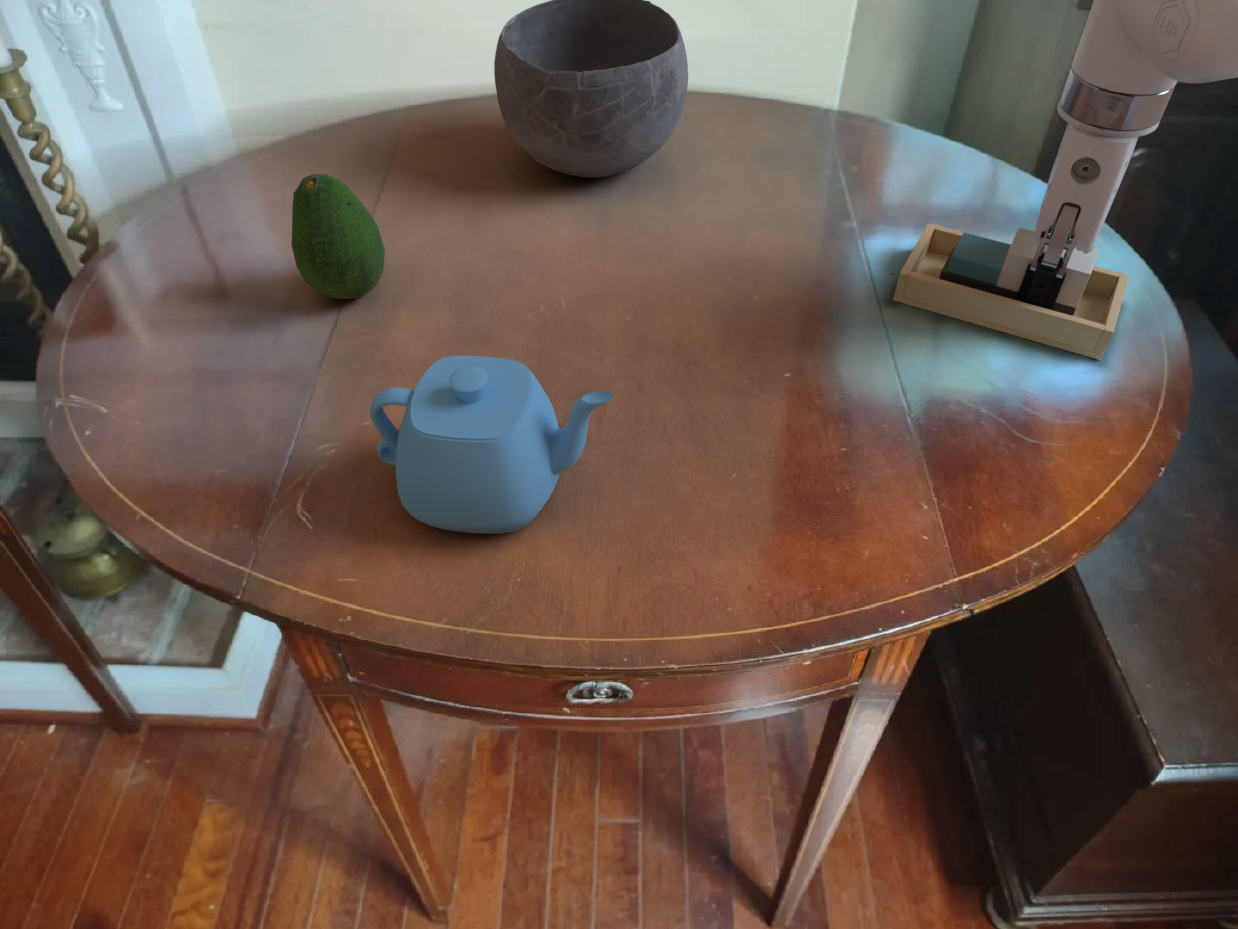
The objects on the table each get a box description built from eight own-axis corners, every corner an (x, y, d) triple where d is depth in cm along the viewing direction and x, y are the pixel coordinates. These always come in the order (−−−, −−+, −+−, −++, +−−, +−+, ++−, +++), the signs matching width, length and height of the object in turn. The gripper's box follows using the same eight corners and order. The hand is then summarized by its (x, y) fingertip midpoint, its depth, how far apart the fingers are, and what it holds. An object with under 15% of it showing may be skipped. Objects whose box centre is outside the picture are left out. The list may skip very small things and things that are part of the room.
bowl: (505, 120, 114) (493, -11, 103) (674, 116, 114) (680, -15, 104) (500, 211, 100) (485, 70, 89) (693, 205, 100) (702, 64, 89)
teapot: (602, 453, 60) (326, 431, 61) (604, 559, 67) (359, 536, 69) (624, 330, 68) (382, 313, 70) (624, 436, 76) (406, 419, 77)
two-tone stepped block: (1080, 292, 87) (1099, 247, 83) (1071, 319, 84) (1091, 274, 81) (950, 257, 91) (963, 212, 87) (937, 281, 88) (951, 237, 84)
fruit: (316, 270, 92) (284, 155, 84) (397, 268, 92) (374, 154, 84) (299, 319, 87) (263, 202, 78) (385, 318, 87) (359, 201, 78)
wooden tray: (1116, 302, 88) (1129, 274, 86) (1100, 360, 83) (1113, 332, 80) (921, 249, 94) (928, 222, 92) (892, 300, 89) (899, 272, 86)
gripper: (1151, 156, 67) (1063, 356, 80) (1178, 65, 77) (1096, 256, 90) (1042, 132, 69) (974, 330, 82) (1082, 47, 80) (1016, 235, 93)
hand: (1039, 289), depth 86 cm, fingers closed on two-tone stepped block, 4 cm apart
